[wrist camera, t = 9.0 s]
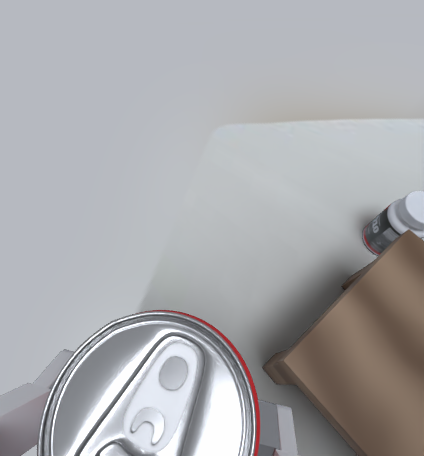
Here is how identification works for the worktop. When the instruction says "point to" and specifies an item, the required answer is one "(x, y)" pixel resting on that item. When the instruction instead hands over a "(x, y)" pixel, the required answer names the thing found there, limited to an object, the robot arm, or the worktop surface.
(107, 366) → the beverage can
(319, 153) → the worktop surface
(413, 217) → the pill bottle
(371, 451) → the walnut stool
